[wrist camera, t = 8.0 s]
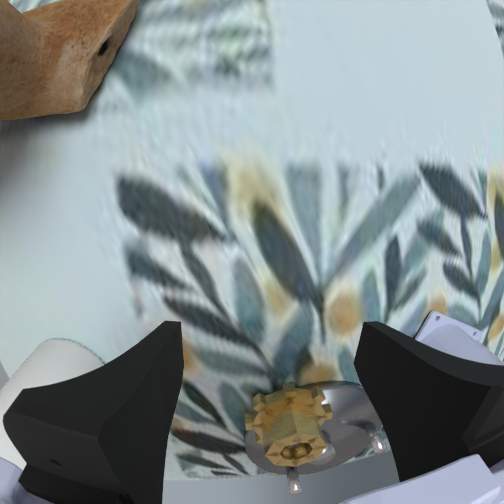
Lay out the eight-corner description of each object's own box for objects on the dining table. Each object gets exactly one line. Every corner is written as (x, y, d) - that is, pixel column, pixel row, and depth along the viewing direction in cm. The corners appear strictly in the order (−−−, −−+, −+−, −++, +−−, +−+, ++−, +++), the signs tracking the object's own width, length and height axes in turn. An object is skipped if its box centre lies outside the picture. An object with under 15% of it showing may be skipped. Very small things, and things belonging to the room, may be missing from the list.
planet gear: (341, 389, 23) (358, 425, 19) (306, 440, 25) (316, 475, 20) (262, 376, 22) (269, 416, 17) (235, 431, 23) (237, 469, 19)
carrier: (403, 391, 25) (423, 420, 21) (333, 470, 28) (342, 498, 24) (283, 365, 23) (293, 404, 19) (224, 457, 26) (224, 491, 22)
